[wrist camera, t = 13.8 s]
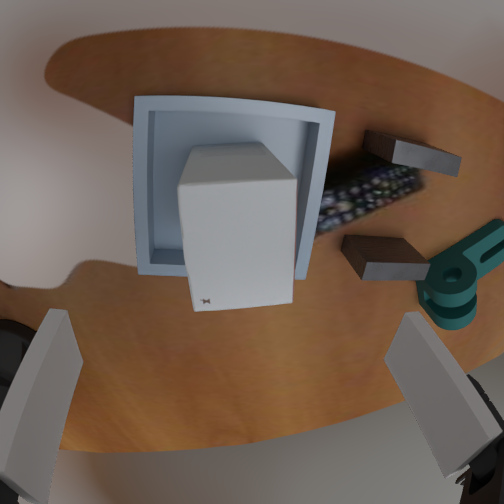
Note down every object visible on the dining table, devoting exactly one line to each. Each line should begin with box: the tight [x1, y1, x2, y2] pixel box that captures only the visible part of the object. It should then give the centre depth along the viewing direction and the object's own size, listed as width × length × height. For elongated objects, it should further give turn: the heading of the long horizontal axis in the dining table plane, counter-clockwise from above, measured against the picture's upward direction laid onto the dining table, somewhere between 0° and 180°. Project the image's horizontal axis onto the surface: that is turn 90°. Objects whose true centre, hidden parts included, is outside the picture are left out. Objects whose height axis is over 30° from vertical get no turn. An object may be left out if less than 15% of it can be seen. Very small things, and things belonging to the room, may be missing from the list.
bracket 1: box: [341, 130, 462, 280], centre depth 30 cm, size 8×14×6 cm, turn 174°
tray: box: [133, 95, 336, 280], centre depth 28 cm, size 16×16×4 cm
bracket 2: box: [416, 219, 504, 330], centre depth 35 cm, size 18×7×8 cm, turn 116°
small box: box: [177, 142, 298, 312], centre depth 23 cm, size 8×6×13 cm
